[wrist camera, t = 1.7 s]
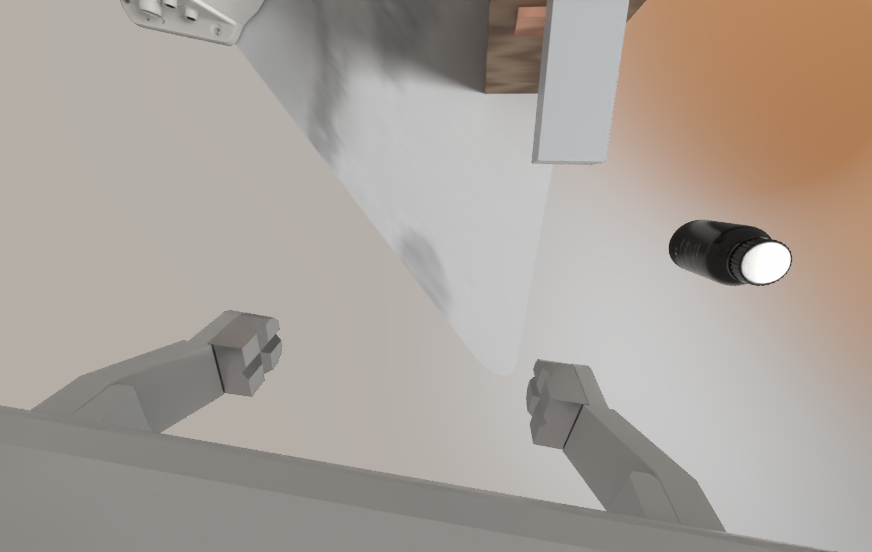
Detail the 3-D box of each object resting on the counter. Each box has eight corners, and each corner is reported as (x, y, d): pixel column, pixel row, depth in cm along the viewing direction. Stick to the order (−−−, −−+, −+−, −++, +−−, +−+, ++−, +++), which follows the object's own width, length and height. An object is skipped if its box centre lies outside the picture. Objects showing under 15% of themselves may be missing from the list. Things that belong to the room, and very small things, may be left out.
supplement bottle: (719, 212, 44) (804, 221, 32) (724, 262, 45) (808, 287, 34) (662, 227, 45) (725, 240, 34) (669, 274, 47) (732, 303, 35)
